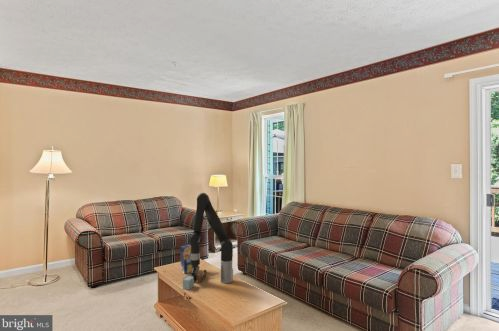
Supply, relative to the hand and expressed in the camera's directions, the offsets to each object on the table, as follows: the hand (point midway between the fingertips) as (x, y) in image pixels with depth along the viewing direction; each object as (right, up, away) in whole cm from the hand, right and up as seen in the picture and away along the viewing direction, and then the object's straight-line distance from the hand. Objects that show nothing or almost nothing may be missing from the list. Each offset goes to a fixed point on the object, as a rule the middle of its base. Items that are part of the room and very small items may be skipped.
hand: (195, 280), depth 242 cm
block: (-3, -2, -11) cm, 11 cm away
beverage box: (-11, -2, +25) cm, 27 cm away
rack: (+1, -2, +5) cm, 6 cm away
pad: (-5, -2, +9) cm, 11 cm away
